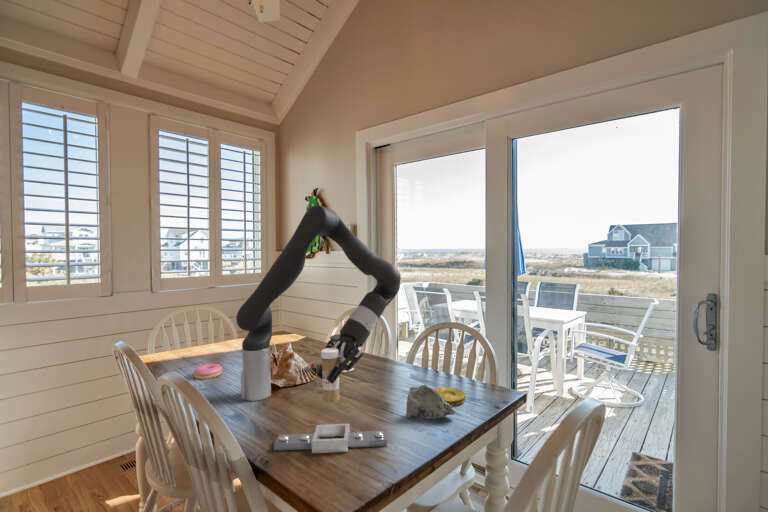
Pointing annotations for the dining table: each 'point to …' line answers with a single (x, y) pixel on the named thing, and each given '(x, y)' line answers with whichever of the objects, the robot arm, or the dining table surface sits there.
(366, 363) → the dining table surface
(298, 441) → the left link bar
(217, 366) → the doughnut
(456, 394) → the gold slotted disc
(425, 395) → the mineral rock
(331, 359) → the sprinkles bottle
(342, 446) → the link socket
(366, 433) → the right link bar
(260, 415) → the dining table surface
